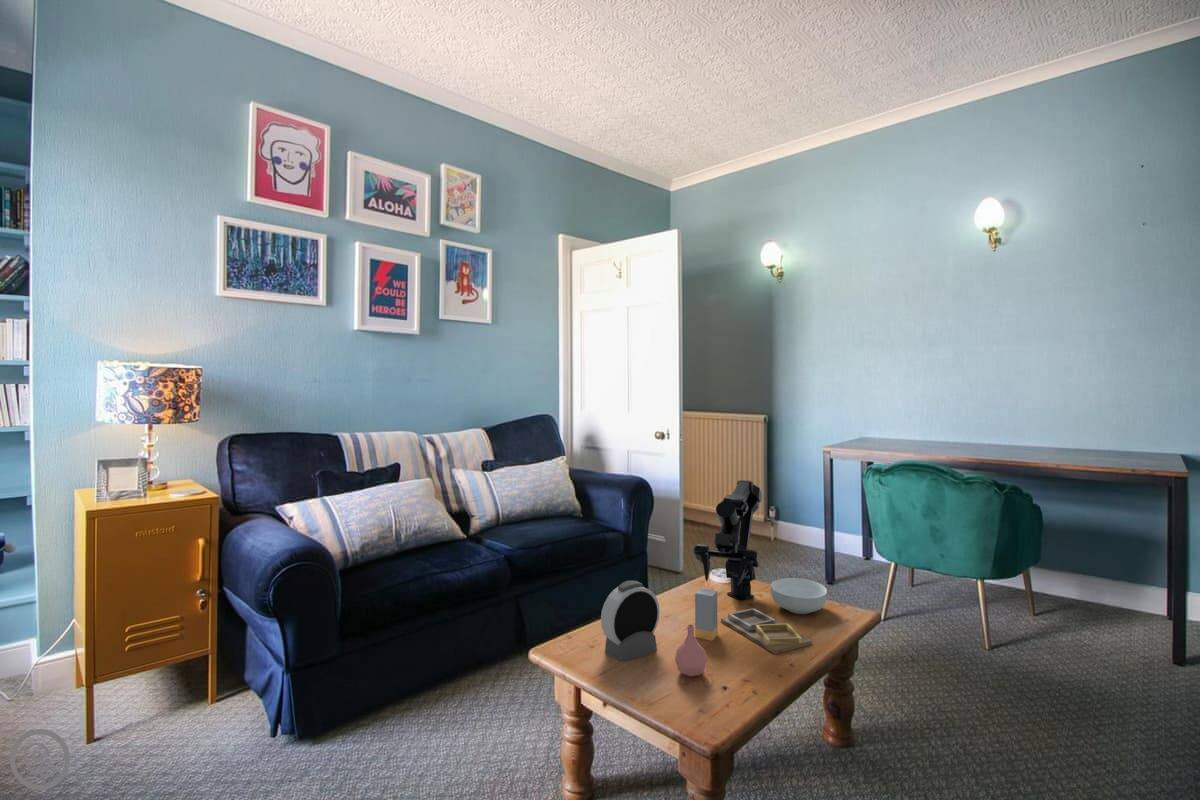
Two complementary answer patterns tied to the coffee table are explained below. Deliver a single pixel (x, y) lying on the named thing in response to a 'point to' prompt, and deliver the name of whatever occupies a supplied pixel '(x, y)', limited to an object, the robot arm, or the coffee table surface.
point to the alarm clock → (630, 621)
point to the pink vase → (690, 655)
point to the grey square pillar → (706, 614)
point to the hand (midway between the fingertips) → (721, 582)
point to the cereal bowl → (798, 595)
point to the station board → (765, 631)
